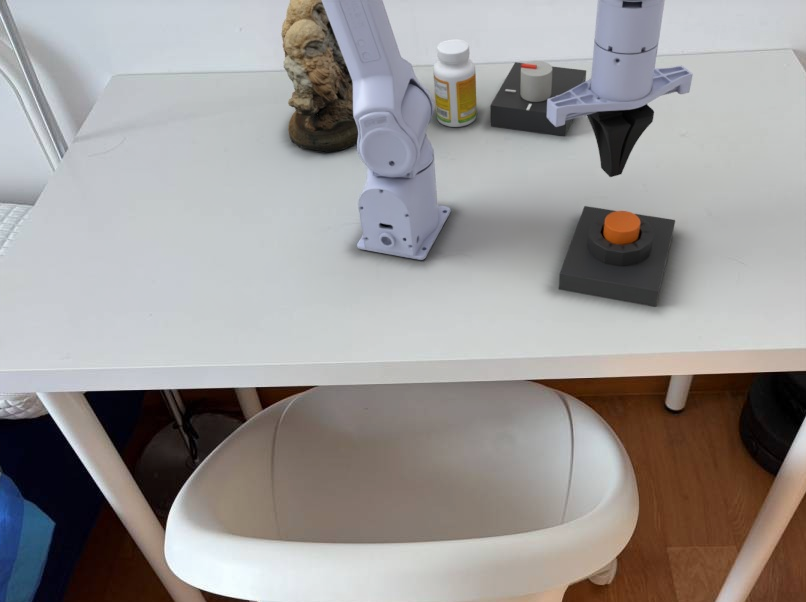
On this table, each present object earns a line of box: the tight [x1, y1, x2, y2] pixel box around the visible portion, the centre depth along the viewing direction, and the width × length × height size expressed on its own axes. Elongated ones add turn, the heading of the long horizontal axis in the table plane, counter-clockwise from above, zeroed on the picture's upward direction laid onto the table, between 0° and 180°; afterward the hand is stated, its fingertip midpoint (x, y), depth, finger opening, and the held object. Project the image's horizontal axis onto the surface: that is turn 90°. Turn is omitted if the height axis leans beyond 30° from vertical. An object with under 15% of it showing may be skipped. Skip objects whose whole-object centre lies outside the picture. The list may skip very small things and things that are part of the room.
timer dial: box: [520, 60, 552, 102], centre depth 101 cm, size 4×4×4 cm
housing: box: [558, 205, 676, 308], centre depth 83 cm, size 12×10×4 cm
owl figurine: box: [280, 0, 358, 153], centre depth 99 cm, size 18×12×17 cm, turn 161°
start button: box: [603, 210, 640, 245], centre depth 81 cm, size 4×4×2 cm
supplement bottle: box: [432, 38, 478, 128], centre depth 102 cm, size 5×5×10 cm
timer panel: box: [489, 61, 587, 137], centre depth 105 cm, size 12×10×3 cm
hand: (611, 170), depth 81 cm, fingers closed
